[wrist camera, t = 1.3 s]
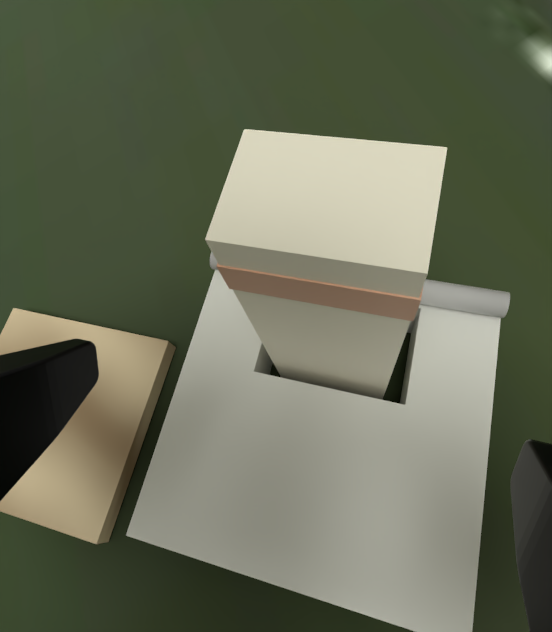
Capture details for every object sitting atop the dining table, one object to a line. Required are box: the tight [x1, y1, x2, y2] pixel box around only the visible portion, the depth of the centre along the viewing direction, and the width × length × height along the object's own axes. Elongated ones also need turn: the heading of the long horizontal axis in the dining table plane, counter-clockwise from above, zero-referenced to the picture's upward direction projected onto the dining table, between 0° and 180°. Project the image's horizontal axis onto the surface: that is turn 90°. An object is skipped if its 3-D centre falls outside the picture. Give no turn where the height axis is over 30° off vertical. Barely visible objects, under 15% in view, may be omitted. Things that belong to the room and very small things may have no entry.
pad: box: [0, 308, 176, 544], centre depth 21 cm, size 9×9×1 cm
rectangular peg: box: [205, 129, 447, 400], centre depth 15 cm, size 3×5×12 cm
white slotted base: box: [126, 252, 510, 632], centre depth 18 cm, size 12×12×4 cm
